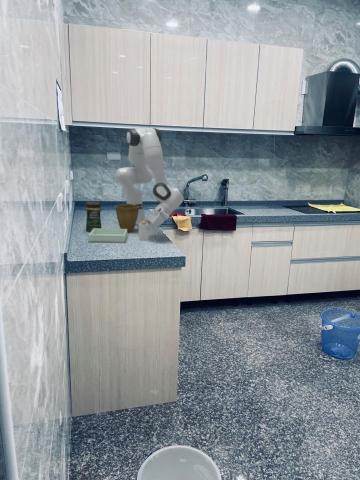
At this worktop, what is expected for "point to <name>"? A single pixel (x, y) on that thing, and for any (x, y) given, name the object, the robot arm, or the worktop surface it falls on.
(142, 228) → the cup post
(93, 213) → the coffee jar
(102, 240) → the tray
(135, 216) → the plant pot
